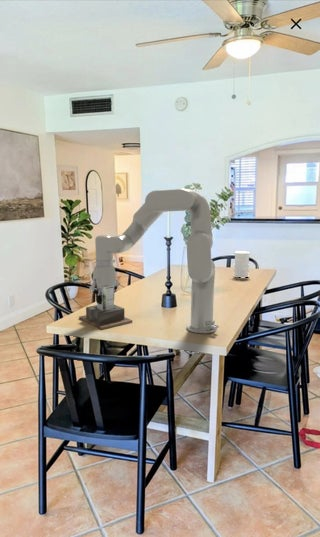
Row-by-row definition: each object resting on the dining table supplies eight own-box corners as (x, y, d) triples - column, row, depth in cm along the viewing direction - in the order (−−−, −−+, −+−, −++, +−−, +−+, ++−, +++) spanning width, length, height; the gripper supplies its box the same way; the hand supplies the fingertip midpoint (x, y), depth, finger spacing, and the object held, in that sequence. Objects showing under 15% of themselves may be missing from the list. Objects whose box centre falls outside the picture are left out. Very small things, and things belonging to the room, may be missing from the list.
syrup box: (96, 315, 178) (95, 284, 175) (107, 313, 182) (106, 282, 179) (104, 318, 174) (103, 286, 171) (114, 315, 178) (114, 284, 175)
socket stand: (132, 322, 176) (132, 309, 175) (101, 329, 166) (101, 316, 165) (108, 312, 191) (108, 300, 190) (79, 318, 181) (78, 306, 180)
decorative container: (239, 274, 289) (240, 250, 286) (252, 277, 280) (253, 252, 277) (229, 276, 282) (230, 252, 278) (242, 279, 273) (243, 253, 270)
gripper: (115, 260, 182) (116, 297, 185) (83, 264, 171) (84, 303, 174) (125, 262, 176) (125, 300, 179) (91, 266, 165) (93, 307, 168)
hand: (105, 301), depth 177 cm, fingers closed on syrup box, 6 cm apart
